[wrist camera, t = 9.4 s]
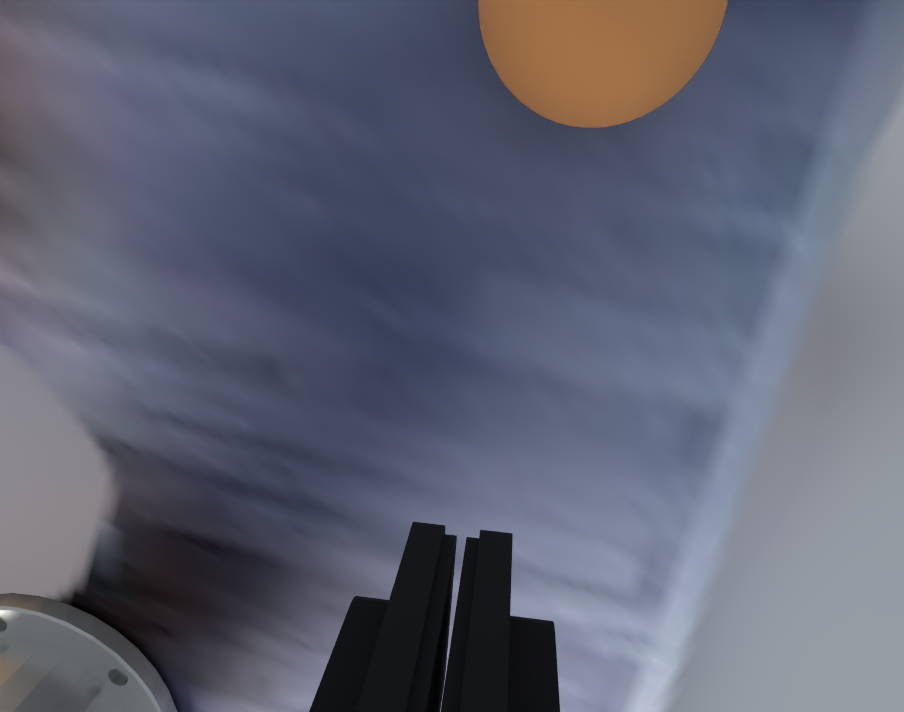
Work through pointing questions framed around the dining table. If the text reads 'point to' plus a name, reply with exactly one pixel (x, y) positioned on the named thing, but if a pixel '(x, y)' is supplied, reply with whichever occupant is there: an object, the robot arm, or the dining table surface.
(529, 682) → the robot arm
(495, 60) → the ball
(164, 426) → the dining table surface
